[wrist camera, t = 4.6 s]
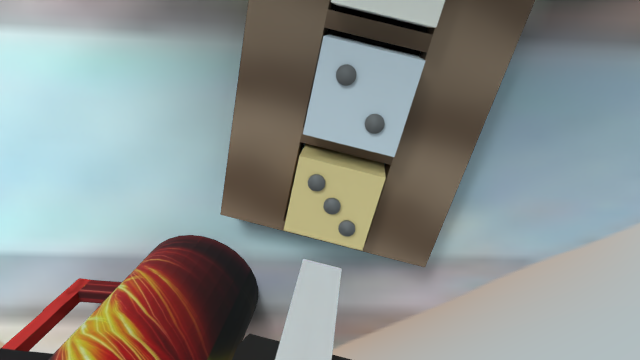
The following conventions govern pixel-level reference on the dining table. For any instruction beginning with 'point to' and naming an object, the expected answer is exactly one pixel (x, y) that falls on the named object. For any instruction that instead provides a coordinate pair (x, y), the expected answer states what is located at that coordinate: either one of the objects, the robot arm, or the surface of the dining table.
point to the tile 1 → (334, 196)
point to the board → (401, 171)
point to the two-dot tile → (362, 94)
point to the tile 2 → (399, 9)
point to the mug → (155, 309)
